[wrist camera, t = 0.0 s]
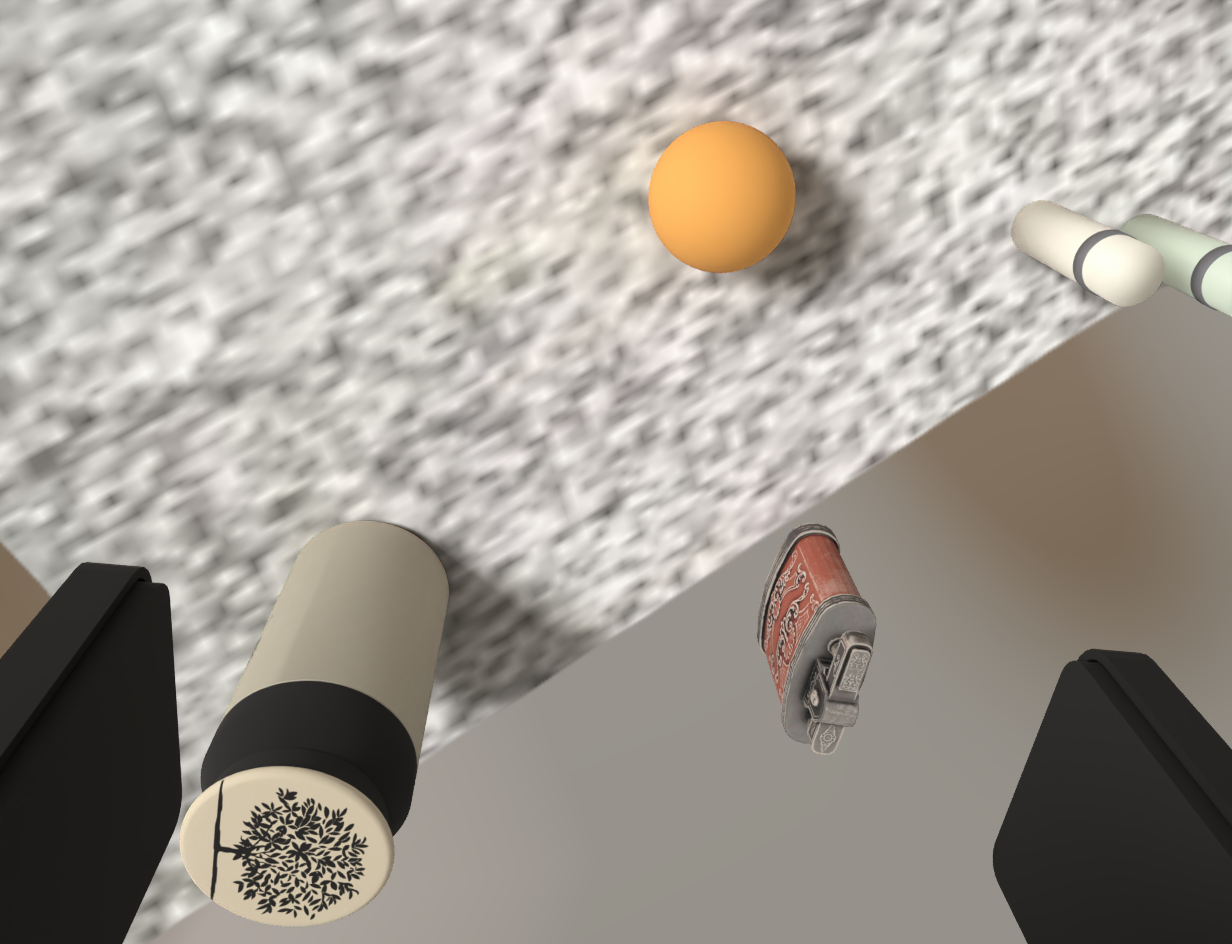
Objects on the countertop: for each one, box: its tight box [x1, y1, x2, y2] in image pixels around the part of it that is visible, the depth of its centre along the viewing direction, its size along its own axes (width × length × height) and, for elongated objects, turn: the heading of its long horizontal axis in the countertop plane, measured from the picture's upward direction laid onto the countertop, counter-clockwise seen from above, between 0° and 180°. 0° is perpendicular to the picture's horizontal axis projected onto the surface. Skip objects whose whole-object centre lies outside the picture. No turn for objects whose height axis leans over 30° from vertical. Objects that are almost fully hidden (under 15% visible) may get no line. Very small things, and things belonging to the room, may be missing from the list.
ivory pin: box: [1011, 200, 1165, 307], centre depth 42 cm, size 2×2×8 cm
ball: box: [648, 121, 796, 273], centre depth 42 cm, size 6×6×6 cm
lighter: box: [757, 523, 876, 754], centre depth 49 cm, size 8×3×10 cm, turn 168°
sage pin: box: [1120, 214, 1232, 317], centre depth 43 cm, size 2×2×8 cm
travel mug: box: [180, 521, 449, 927], centre depth 44 cm, size 8×8×18 cm
